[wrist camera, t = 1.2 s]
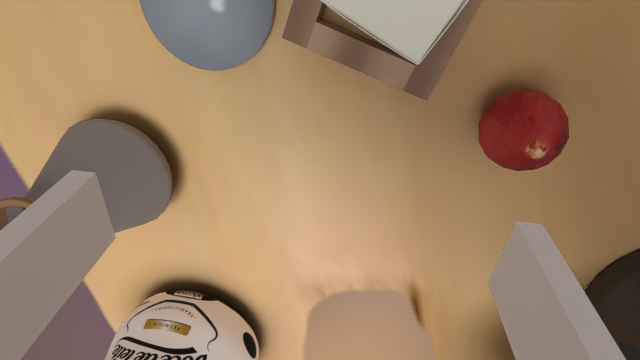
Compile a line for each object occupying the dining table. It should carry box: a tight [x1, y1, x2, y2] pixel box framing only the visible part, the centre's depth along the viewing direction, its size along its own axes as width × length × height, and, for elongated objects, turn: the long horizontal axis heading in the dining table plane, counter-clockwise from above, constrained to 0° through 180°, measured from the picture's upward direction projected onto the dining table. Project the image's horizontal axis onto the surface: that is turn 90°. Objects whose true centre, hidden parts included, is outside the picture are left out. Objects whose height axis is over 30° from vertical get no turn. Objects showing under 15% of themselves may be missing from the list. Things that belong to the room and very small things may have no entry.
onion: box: [479, 89, 569, 171], centre depth 27 cm, size 6×6×8 cm
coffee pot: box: [0, 118, 173, 233], centre depth 35 cm, size 21×12×15 cm, turn 140°
